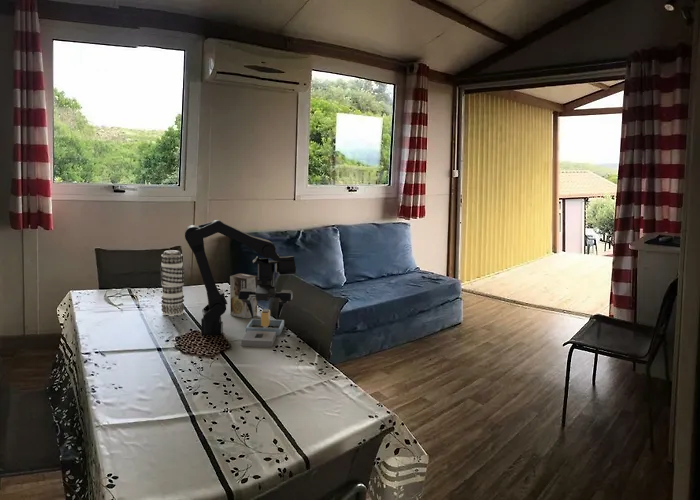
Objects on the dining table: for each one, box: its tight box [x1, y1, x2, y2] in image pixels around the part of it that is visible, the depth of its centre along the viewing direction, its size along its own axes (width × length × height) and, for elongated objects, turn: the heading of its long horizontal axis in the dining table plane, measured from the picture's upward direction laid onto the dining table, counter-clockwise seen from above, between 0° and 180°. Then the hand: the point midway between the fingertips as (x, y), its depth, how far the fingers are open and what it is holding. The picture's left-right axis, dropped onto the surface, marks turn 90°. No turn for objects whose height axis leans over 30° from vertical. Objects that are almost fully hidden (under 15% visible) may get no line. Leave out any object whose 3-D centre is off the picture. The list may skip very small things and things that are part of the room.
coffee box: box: [229, 273, 258, 320], centre depth 214 cm, size 9×6×16 cm
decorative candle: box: [159, 249, 185, 317], centre depth 212 cm, size 9×9×25 cm
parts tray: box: [245, 318, 285, 336], centre depth 195 cm, size 12×11×3 cm
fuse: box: [260, 308, 271, 328], centre depth 195 cm, size 3×4×7 cm, turn 0°
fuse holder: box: [240, 331, 277, 348], centre depth 182 cm, size 10×10×3 cm
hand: (265, 317), depth 194 cm, fingers open, 9 cm apart
